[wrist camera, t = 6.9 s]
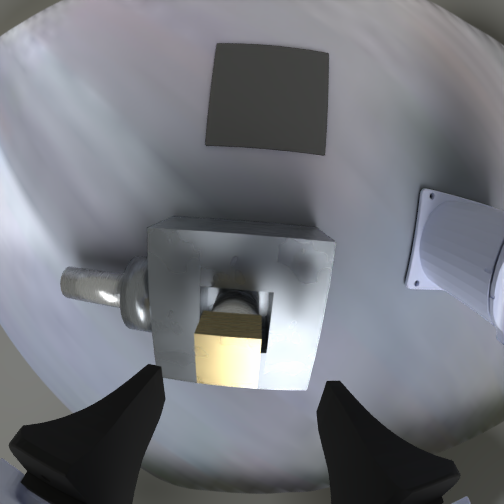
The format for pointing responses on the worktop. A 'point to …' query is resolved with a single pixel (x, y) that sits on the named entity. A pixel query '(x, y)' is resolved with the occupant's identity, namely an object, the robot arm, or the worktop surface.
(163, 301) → the chuck
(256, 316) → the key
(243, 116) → the mat
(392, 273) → the worktop surface
